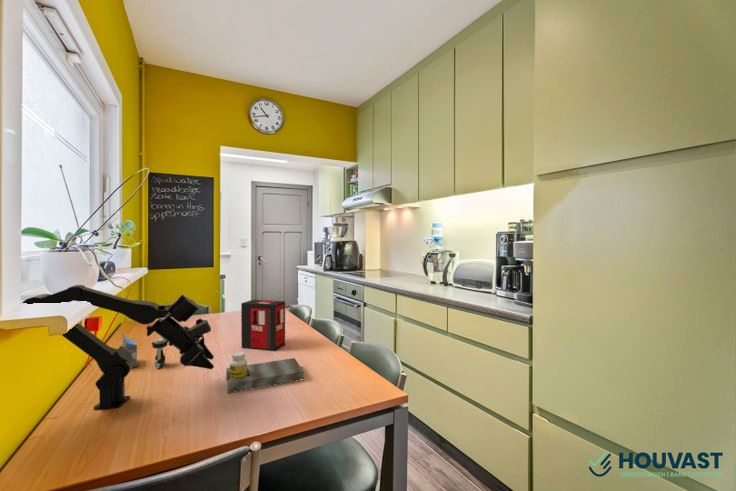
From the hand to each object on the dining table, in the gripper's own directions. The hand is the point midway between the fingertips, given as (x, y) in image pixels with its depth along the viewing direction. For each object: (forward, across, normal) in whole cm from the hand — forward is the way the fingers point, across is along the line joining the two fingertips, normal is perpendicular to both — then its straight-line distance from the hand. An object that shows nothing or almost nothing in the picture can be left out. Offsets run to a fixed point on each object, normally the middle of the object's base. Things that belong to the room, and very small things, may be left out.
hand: (212, 362), depth 109 cm
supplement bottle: (+11, 0, 0) cm, 11 cm away
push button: (-7, +28, +19) cm, 34 cm away
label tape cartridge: (-14, +34, +26) cm, 45 cm away
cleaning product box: (+20, +36, -9) cm, 42 cm away
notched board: (+17, 0, -6) cm, 18 cm away
